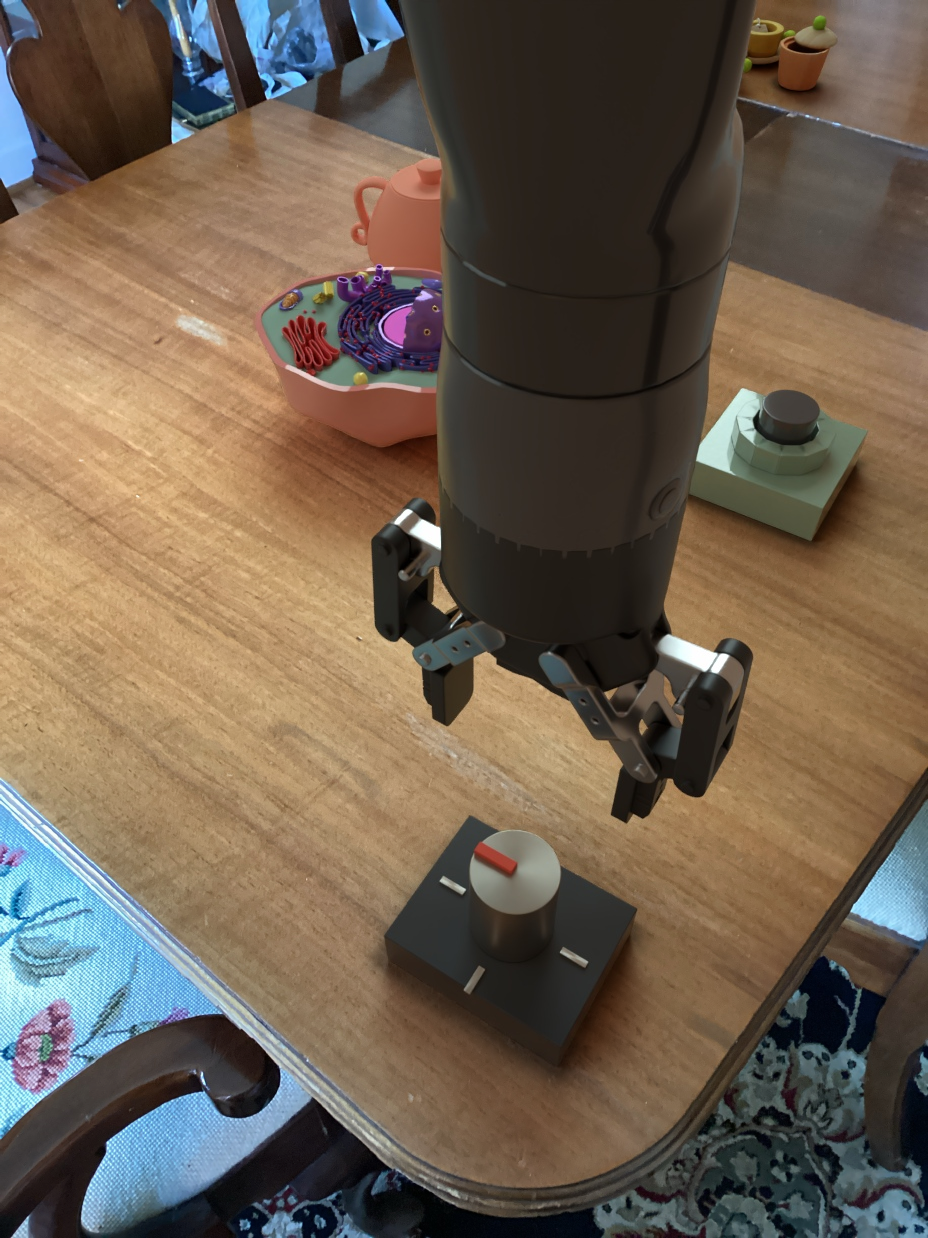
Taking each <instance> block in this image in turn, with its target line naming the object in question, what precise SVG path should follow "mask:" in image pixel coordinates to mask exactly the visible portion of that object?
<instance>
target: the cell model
mask: <svg viewBox="0 0 928 1238" xmlns="http://www.w3.org/2000/svg"><path fill="white" fill-rule="evenodd" d="M254 326H255V330H256V332H257V334H258V337H259V339H260V341H261V343H262V345H263V347H264V349H265V351H266V353H267V355H268V357H269V359H270V361H271V363H272V366H273V368H274V370H275V372H276V375H277V378H278V381H279V385H280V388H281V390H282V392H283V395H284V397H285V399H286V402H287V404H288V406H289V407H290V408H291V410H293V411H294V412H295V413H297V414H299V415H300V416H303V417H305V418H307V419H310V420H313V421H315V422H318V423H321V424H323V425H325V426H328V427H331V428H333V429H335V430H337V431H339V432H341V433H343V434H344V435H346V436H349V437H350V438H352V439H355V440H358V441H360V442H363V443H365V444H366V445H367V444H368V445H369V446H372V447H376V448H388V447H391V446H394V445H396V444H399V443H402V442H404V441H406V440H413V439H419V438H423V437H428V436H435V435H437V423H436V382H437V372H438V364H439V357H440V350H441V342H442V330H443V315H442V277H441V273H440V272H438V271H434V270H430V269H422V268H408V267H383V266H382V265H381V264H378V265H376V267H375V266H373V267H364V268H363V267H362V268H357V269H351V270H346V271H340V272H333V273H327V274H321V275H315V276H311V277H307V278H304V279H300V280H298V281H296V282H294V283H292V284H291V285H289V286H288V287H287V288H285V289H283V290H282V291H280V292H279V293H278V294H277V295H275V296H273V298H271V299H270V300H268V301H267V302H266V303H264V304H263V305H262V306H261V308H259V310H258V312H256V314H255V317H254Z"/></svg>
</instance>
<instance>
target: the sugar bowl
mask: <svg viewBox="0 0 928 1238" xmlns="http://www.w3.org/2000/svg"><path fill="white" fill-rule="evenodd" d="M369 188H375V189H379V190H381V194H380V196H379V197H378V199H377V201H376V203H375V206H374V207H373V210H372V212H371V216H369V214H368V212H367V209H366V206H365V202H364V198H363V192H364V190H366V189H369ZM440 190H441V161H440V159H438V158H432V157H431V158H429V157H428V158H423V159H421V160H419V161H417V162H416V163H415V164H411V165H408V166H405V167H403V168H401V169H399V170H398V171H396V172H395V173H394V174H393V175H392V176H391V177H390V179H389V180H388V179H386V178H384V177H381V176H376V175H372V176H367V177H364V178H363V179H362V180H360V181H359V182H358V183H357V184H356V186H355V187H354V190H353V197H352V198H353V204H354V208H355V211H356V214H357V217H358V219H359V221H357V222H355V223H353V224H352V226H351V228H350V237H351V240H352V241H353V242H354V243H355V244H357V245H359V246H366V248H367V249H366V250H367V255H368V257H369V258H370V261H371V263H372V264H373V266H374V267H376V265H378V264H381V265H382V266H383V267H408V268H422V269H430V270H434V271H438V272H440V273H441V240H440V226H441V225H440ZM358 230H363V233H364V234H361V232H359V231H358Z"/></svg>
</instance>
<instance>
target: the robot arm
mask: <svg viewBox="0 0 928 1238" xmlns="http://www.w3.org/2000/svg"><path fill="white" fill-rule="evenodd" d="M397 2H398V5H399V6H398V7H399V10H400V15H401V18H402V19H401V20H402V22H403V28H404V31H405V35H406V40H407V44H408V49H409V52H410V57H411V61H412V66H413V70H414V74H415V79H416V83H417V88H418V91H419V95H420V99H421V102H422V104H423V107H424V111H425V114H426V118H427V121H428V124H429V127H430V130H431V133H432V135H433V138H434V142H435V145H436V148H437V153H438V157H439V160H440V161H441V190H440V225H441V226H440V240H441V277H442V315H443V330H442V342H441V350H440V357H439V364H438V372H437V382H436V423H437V434H436V442H437V443H436V444H437V445H436V446H437V447H436V448H437V474H438V475H437V480H438V482H437V483H438V507H439V526H438V525H437V515H436V511H435V509H434V507H433V506H432V505H431V504H430V503H429V502H428V501H427V500H425V499H424V498H421V497H418V496H417V497H416V496H415V497H412V498H411V499H410V500H409V501H407V503H406V504H404V506H402V508H400V509H399V510H398V511H397V512H396V513H395V514H394V515H393V516H392V517H391V518H390V519H389V520H388V521H387V522H386V523H385V524H384V525H383V526H382V528H380V529H379V531H378V532H376V533H375V534H374V535H373V536H372V538H371V541H370V546H371V547H370V548H371V549H370V550H371V570H372V571H371V573H372V574H371V575H372V596H373V597H372V598H373V621H374V628H375V629H376V632H377V633H378V634H379V635H380V636H381V637H382V638H383V639H385V640H386V641H388V642H391V643H397V642H399V640H400V639H402V640H404V641H405V642H406V643H408V644H409V645H410V646H412V647H413V649H412V650H411V654H412V655H411V656H412V658H413V659H414V661H415V662H416V663H417V664H418V666H420V667H421V678H422V694H423V697H424V700H425V702H426V704H427V705H429V706H430V707H431V719H433V720H434V721H435V722H437V723H439V724H442V725H443V726H445V727H449V726H451V725H452V723H453V722H454V721H455V720H456V719H457V717H458V716H459V715H460V713H461V712H463V710H464V708H465V707H466V706H467V705H468V703H469V702H470V701H471V699H472V697H473V695H474V690H475V687H474V685H475V684H474V683H475V682H474V681H475V678H474V677H475V674H474V671H475V670H474V669H475V666H474V665H475V664H474V663H475V662H474V661H475V660H474V659H475V658H476V657H478V656H480V655H482V654H484V653H487V654H490V655H491V656H492V657H493V658H494V659H495V665H496V666H499V667H500V668H502V669H505V670H507V671H508V672H510V673H512V674H515V675H518V676H522V677H524V678H527V679H531V680H533V681H534V682H536V683H537V684H539V685H540V686H541V687H543V688H544V689H546V690H547V691H549V692H550V693H552V694H554V695H556V696H558V697H560V698H562V699H564V700H566V701H568V702H569V703H570V704H571V705H572V707H573V709H574V710H575V712H576V713H577V714H578V716H579V718H580V720H581V721H582V723H583V724H584V726H585V727H586V729H587V730H588V732H589V734H590V735H591V736H592V738H593V739H594V740H596V741H600V742H601V741H605V742H608V743H609V745H610V747H611V748H612V750H613V751H614V753H615V754H616V756H617V757H618V759H619V761H620V762H621V764H622V765H621V767H620V769H619V772H618V777H617V782H616V786H615V790H614V791H615V792H614V796H613V801H612V805H611V810H610V816H611V817H613V818H615V819H617V820H619V821H620V822H623V823H624V824H628V823H629V822H630V820H631V819H632V817H633V815H634V816H636V817H637V818H640V819H641V820H644V819H645V818H647V817H649V816H650V814H651V813H652V811H653V809H654V808H655V806H656V804H657V803H658V801H659V800H660V798H661V796H662V795H663V793H664V791H665V789H666V786H667V783H668V779H669V780H672V783H673V784H674V786H675V787H676V789H678V790H679V792H681V793H683V794H684V795H686V796H688V797H691V798H695V799H697V798H702V797H703V796H704V795H705V794H706V792H707V790H708V789H709V788H710V786H711V783H713V780H714V778H715V777H716V774H717V773H718V771H719V769H720V768H721V767H722V764H723V763H724V761H725V759H726V757H727V755H728V754H729V752H730V750H731V748H732V746H733V744H734V741H735V736H736V732H737V727H738V723H739V719H740V715H741V711H742V707H743V702H744V699H745V696H746V695H745V694H746V692H747V691H746V690H747V686H748V682H749V678H750V673H751V671H752V670H751V669H752V666H753V661H754V653H753V651H752V649H751V648H750V647H749V646H748V645H747V644H746V643H745V642H743V641H742V640H740V639H737V638H732V637H727V638H723V639H721V640H720V641H719V642H718V644H717V646H716V647H715V649H714V650H713V651H712V650H709V649H707V648H705V647H702V646H701V645H698V644H695V643H692V642H690V641H689V640H688V641H687V640H685V639H682V638H680V637H678V636H675V635H673V634H672V633H673V632H672V628H671V624H670V622H669V619H668V617H667V614H666V609H665V602H666V598H667V597H666V596H667V593H668V589H669V586H670V581H671V577H672V571H673V567H674V563H675V558H676V554H677V548H678V544H679V540H680V536H681V530H682V526H683V525H682V524H683V521H684V517H685V512H686V508H687V504H688V499H689V495H690V494H689V491H690V486H691V481H692V477H693V472H694V468H695V464H696V459H697V454H698V450H699V445H700V444H701V442H702V441H701V439H702V435H703V431H704V427H705V423H706V422H705V421H706V415H707V409H708V402H709V390H710V389H709V386H710V366H711V365H710V363H711V352H712V347H713V339H714V332H715V327H716V322H717V317H718V313H719V308H720V305H721V300H722V299H721V298H722V293H723V289H724V284H725V279H726V275H727V270H728V266H729V260H730V256H731V251H732V246H733V242H734V241H733V240H734V237H735V235H736V231H737V224H738V218H739V212H740V205H741V201H742V191H743V183H744V174H745V157H746V147H745V138H744V127H743V125H744V124H743V121H742V118H741V116H740V113H739V111H738V109H737V103H738V102H737V101H738V96H739V92H740V87H741V82H742V78H743V74H744V72H743V68H744V64H745V59H746V54H747V49H748V44H749V39H750V34H751V29H752V24H753V20H755V19H754V18H755V13H756V9H757V4H758V0H397ZM435 567H436V568H438V575H439V578H440V581H441V583H442V585H443V586H444V588H445V590H446V591H447V592H448V595H450V598H452V600H453V602H454V604H455V606H453V607H451V608H449V609H448V610H446V611H445V612H443V611H442V610H441V609H439V608H438V607H436V606H435V605H434V604H432V603H433V602H434V596H435V595H434V594H435V593H434V592H435ZM665 678H666V680H667V681H668V683H669V684H670V690H671V694H672V696H673V698H674V699H675V701H674V702H673V704H672V705H671V704H670V701H669V700H668V698H667V697H666V695H665V690H664V688H665ZM612 690H615V691H614V693H613V694H612V695H611V697H610V698H608V696H607V694H605V693H607V692H609V691H612ZM678 716H682V717H683V718H682V722H681V721H680V719H679V717H678ZM641 721H643V723H644V725H645V726H646V728H645V730H644V732H643V733H641V731H640V725H641Z"/></svg>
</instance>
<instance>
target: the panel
mask: <svg viewBox="0 0 928 1238" xmlns="http://www.w3.org/2000/svg"><path fill="white" fill-rule="evenodd" d="M498 832H501V831H500V830H498V829H496V828H495V827H493V826H491V825H489V824H487V823H485V822H484V821H482V820H480V819H479V818H476V817H475V816H474V815H473V816H472V815H471V814H470V815H468V817H467V818H466V819H465V820H464V822H463V824H462V825H461V826H460V827H459V829H458V831H457V832H456V833H455V835H454V836H453V838H452V839H451V840H450V842H449V843H448V844H447V846H446V847H445V849H444V850H443V852H442V853H441V855H440V856H439V857H438V859H437V860H436V861H435V863H434V864H433V865H432V867H431V868H430V870H429V871H428V872H427V874H426V876H425V877H424V878H423V879H422V881H421V882H420V884H419V886H418V887H417V888H416V889H415V891H414V892H413V894H412V895H411V897H410V898H409V899H408V901H407V903H406V904H405V905H404V906H403V908H402V910H401V911H400V912H399V913H398V915H397V916H396V917H395V919H394V920H393V922H392V924H390V926H389V928H388V929H387V930H386V932H385V933H384V935H383V938H384V943H385V944H384V945H385V950H386V956H387V960H389V961H390V962H392V963H393V964H394V965H396V966H397V967H399V968H401V969H403V970H404V971H406V972H407V973H409V974H410V975H412V976H413V977H415V978H417V979H418V980H419V981H421V982H422V983H424V984H426V985H427V986H429V987H431V988H432V989H434V990H435V991H436V992H438V993H440V994H441V995H443V996H444V997H446V998H448V999H449V1000H451V1001H452V1002H454V1003H455V1004H457V1005H458V1006H460V1007H462V1008H463V1009H465V1010H466V1011H467V1012H469V1013H471V1014H472V1015H474V1016H476V1017H477V1018H479V1019H480V1020H482V1021H483V1022H484V1023H487V1024H488V1025H490V1026H492V1027H493V1028H494V1029H496V1030H497V1031H499V1032H500V1033H502V1034H503V1035H505V1036H506V1037H509V1038H510V1039H512V1040H513V1041H514V1042H516V1043H518V1044H519V1045H521V1046H522V1047H524V1048H525V1049H527V1050H529V1051H530V1052H532V1053H533V1054H535V1055H536V1056H538V1057H539V1058H541V1059H542V1060H544V1061H546V1062H547V1063H549V1064H550V1065H552V1066H554V1067H555V1068H558V1067H559V1065H560V1063H561V1062H562V1060H563V1058H564V1056H565V1054H566V1053H567V1050H568V1049H569V1047H570V1045H571V1043H572V1041H573V1039H574V1037H575V1036H576V1034H577V1032H578V1030H579V1028H580V1026H581V1025H582V1023H583V1021H584V1019H585V1018H586V1016H587V1013H588V1012H589V1010H590V1008H591V1006H592V1004H593V1003H594V1001H595V999H596V997H597V995H598V994H599V992H600V990H601V988H602V986H603V984H604V983H605V981H606V980H607V977H608V975H609V973H610V972H611V970H612V968H613V966H614V964H615V963H616V961H617V960H618V959H617V958H618V957H619V955H620V953H621V951H622V950H623V948H624V946H625V944H626V942H627V940H628V939H629V937H630V935H631V932H632V930H633V926H634V922H635V919H636V915H637V912H638V908H637V907H636V906H634V905H633V904H630V903H629V902H627V901H625V900H624V899H622V898H620V897H618V896H616V895H614V894H613V893H611V892H609V891H607V890H605V889H604V888H602V887H600V886H599V885H597V884H595V883H593V882H591V881H589V880H588V879H586V878H584V877H582V876H580V875H578V874H577V873H575V872H574V871H571V870H570V869H568V868H566V867H564V866H562V865H561V864H560V866H561V882H560V889H559V896H558V903H557V909H556V916H555V923H554V929H553V934H552V937H551V939H550V941H549V943H548V944H547V946H546V947H545V948H544V949H543V951H541V952H540V953H539V954H538V955H536V956H535V957H533V958H531V959H528V960H525V961H521V962H505V961H500V960H498V959H495V958H493V957H491V956H489V955H488V954H487V953H485V952H484V951H483V950H482V949H481V948H480V947H479V946H478V945H477V943H476V941H475V940H474V938H473V935H472V932H471V929H470V895H469V868H470V862H471V858H472V856H473V853H474V850H475V848H476V847H477V845H478V844H479V842H483V841H484V840H485V839H487V838H488V837H490V836H491V835H493V834H496V833H498Z"/></svg>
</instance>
